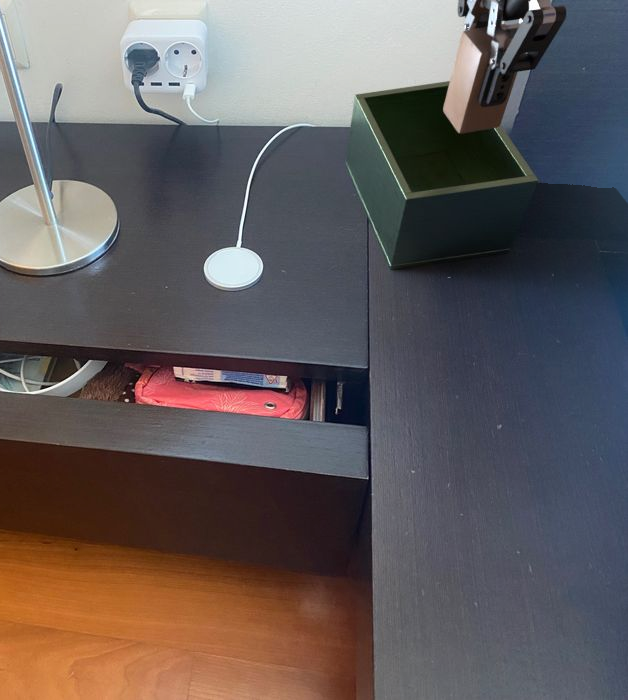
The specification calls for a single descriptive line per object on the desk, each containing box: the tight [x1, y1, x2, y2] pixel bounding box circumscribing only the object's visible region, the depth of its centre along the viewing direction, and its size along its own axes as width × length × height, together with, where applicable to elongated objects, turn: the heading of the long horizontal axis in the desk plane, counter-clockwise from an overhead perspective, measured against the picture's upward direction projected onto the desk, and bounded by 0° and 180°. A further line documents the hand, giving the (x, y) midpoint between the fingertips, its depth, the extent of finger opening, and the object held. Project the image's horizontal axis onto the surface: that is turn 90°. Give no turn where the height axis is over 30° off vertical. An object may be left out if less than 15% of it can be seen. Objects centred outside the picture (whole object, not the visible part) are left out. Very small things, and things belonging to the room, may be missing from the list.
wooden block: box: [443, 23, 519, 133], centre depth 63 cm, size 4×4×8 cm
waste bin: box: [344, 80, 539, 271], centre depth 77 cm, size 18×13×10 cm
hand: (479, 87), depth 64 cm, fingers closed on wooden block, 4 cm apart
